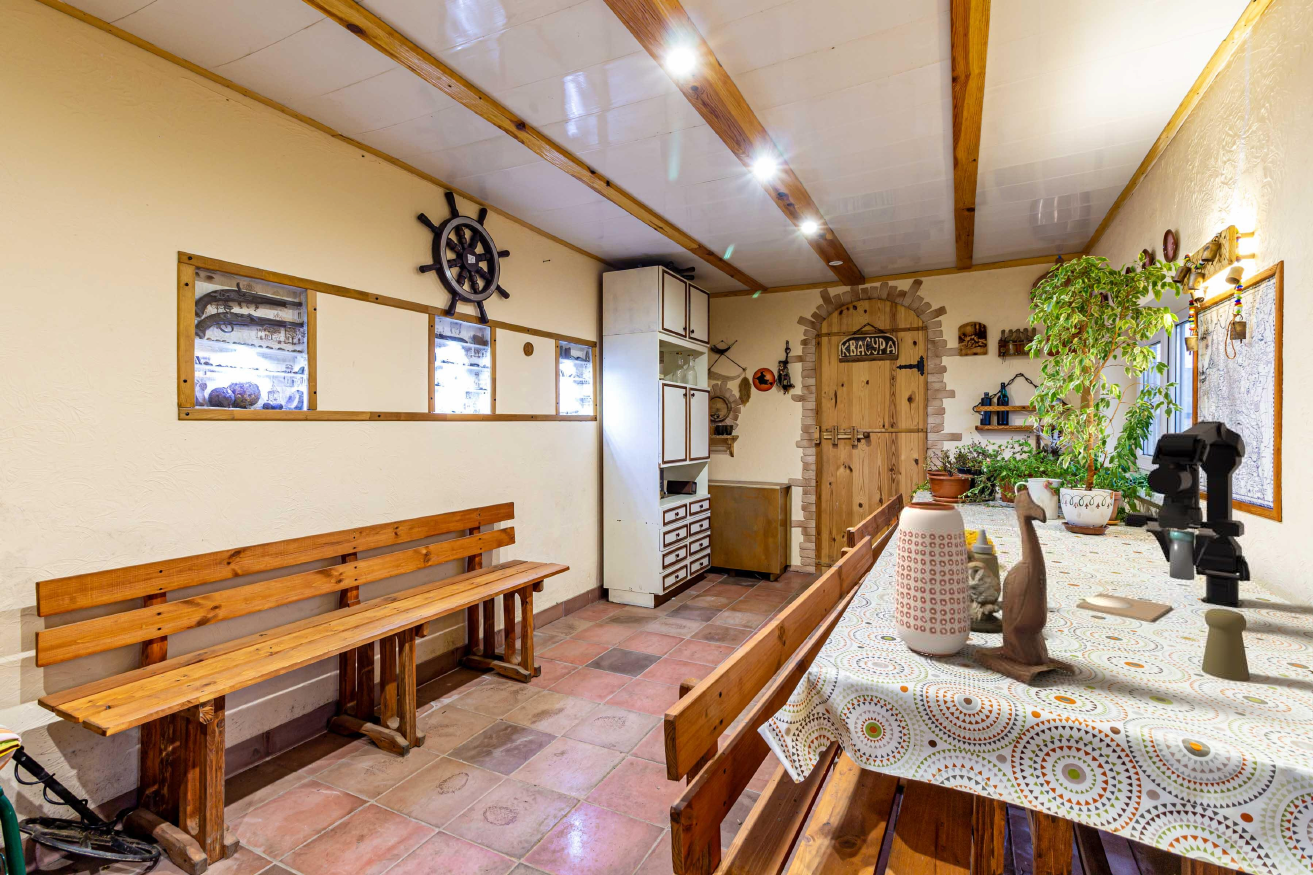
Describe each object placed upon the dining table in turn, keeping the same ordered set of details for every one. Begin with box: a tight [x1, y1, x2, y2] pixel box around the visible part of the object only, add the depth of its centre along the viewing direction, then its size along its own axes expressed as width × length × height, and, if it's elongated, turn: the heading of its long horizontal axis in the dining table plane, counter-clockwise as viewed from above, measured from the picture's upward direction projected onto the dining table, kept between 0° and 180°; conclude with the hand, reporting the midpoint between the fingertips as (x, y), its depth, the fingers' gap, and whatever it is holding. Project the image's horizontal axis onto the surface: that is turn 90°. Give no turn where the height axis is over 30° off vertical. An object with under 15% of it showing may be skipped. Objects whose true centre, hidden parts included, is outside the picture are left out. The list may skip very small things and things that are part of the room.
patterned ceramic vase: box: [894, 501, 971, 658], centre depth 115 cm, size 13×13×28 cm
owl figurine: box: [967, 546, 1003, 634], centre depth 132 cm, size 18×12×17 cm, turn 36°
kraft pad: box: [1075, 592, 1173, 623], centre depth 140 cm, size 16×14×1 cm
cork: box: [1201, 608, 1251, 682], centre depth 102 cm, size 6×6×11 cm
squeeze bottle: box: [971, 529, 1002, 606], centre depth 144 cm, size 8×8×18 cm
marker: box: [1169, 529, 1196, 581], centre depth 128 cm, size 4×4×10 cm
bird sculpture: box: [972, 489, 1077, 686], centre depth 104 cm, size 11×12×32 cm
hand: (1181, 563), depth 128 cm, fingers closed on marker, 4 cm apart
